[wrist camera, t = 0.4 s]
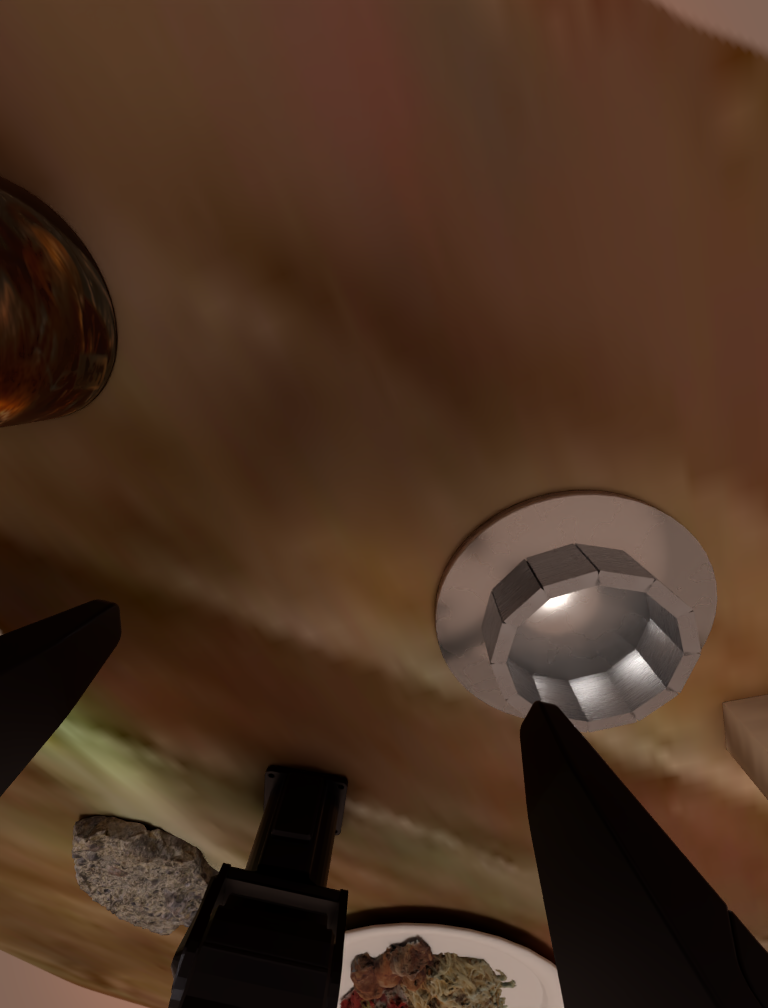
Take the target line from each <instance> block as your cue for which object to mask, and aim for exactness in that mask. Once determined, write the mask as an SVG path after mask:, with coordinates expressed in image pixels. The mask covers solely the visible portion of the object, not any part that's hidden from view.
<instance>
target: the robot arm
mask: <svg viewBox="0 0 768 1008" xmlns="http://www.w3.org/2000/svg"><path fill="white" fill-rule="evenodd" d="M120 637H121V620H120V608H119V606H118V605H117V604H116V603H114V602H109V601H105V600H99V599H97V600H93V601H90V602H87V603H85V604H82V605H80V606H77V607H74V608H72V609H69V610H66V611H64V612H61V613H59V614H56V615H53V616H51V617H48V618H45V619H43V620H40V621H38V622H35V623H32V624H30V625H27V626H24V627H22V628H19V629H17V630H14V631H11V632H9V633H6V634H3V635H1V636H0V797H1V795H2V794H3V793H4V792H5V791H6V789H7V788H8V787H9V786H10V785H11V783H12V782H13V781H14V780H15V779H16V777H17V776H18V775H19V774H20V773H21V771H22V770H23V769H24V768H25V767H26V765H27V764H28V763H29V762H30V761H31V759H32V758H33V757H34V756H35V755H36V753H37V752H38V751H39V750H40V748H41V747H42V746H43V745H44V744H45V742H46V741H47V740H48V739H49V738H50V736H51V735H52V734H53V733H54V732H55V730H56V729H57V728H58V727H59V726H60V724H61V723H62V722H63V721H64V719H65V718H66V717H67V716H68V714H69V713H70V712H71V710H72V709H73V708H74V706H75V705H76V703H77V702H78V701H79V699H80V698H81V696H82V695H83V693H84V692H85V690H86V689H87V688H88V686H89V685H90V683H91V682H92V680H93V679H94V677H95V676H96V675H97V673H98V672H99V670H100V669H101V667H102V666H103V664H104V663H105V662H106V660H107V659H108V657H109V656H110V654H111V653H112V651H113V650H114V649H115V647H116V646H117V644H118V642H119V640H120ZM520 742H521V752H522V762H523V773H524V783H525V793H526V804H527V812H528V819H529V825H530V831H531V837H532V842H533V847H534V852H535V858H536V863H537V868H538V873H539V879H540V884H541V889H542V894H543V899H544V905H545V910H546V915H547V920H548V926H549V931H550V936H551V941H552V947H553V952H554V957H555V962H556V968H557V973H558V978H559V983H560V989H561V994H562V999H563V1004H564V1008H768V952H767V951H766V950H765V949H764V948H763V947H762V945H761V944H760V943H759V942H758V941H757V940H756V938H755V937H754V936H753V935H752V934H751V933H750V931H749V930H748V929H747V928H746V927H745V925H744V924H743V923H742V922H741V921H740V920H739V918H738V917H737V916H736V915H735V914H734V913H733V912H732V911H731V910H728V907H727V905H726V903H725V902H724V901H723V900H722V899H721V897H720V896H719V895H718V894H717V893H716V892H715V890H714V889H713V888H712V887H711V886H710V885H709V883H708V882H707V881H706V880H705V879H704V877H703V876H702V875H701V874H700V873H699V872H698V870H697V869H696V868H695V867H694V866H693V865H692V863H691V862H690V861H689V860H688V859H687V857H686V856H685V855H684V854H683V853H682V852H681V850H680V849H679V848H678V847H677V846H676V845H675V843H674V842H673V841H672V840H671V839H670V837H669V836H668V835H667V834H666V833H665V832H664V830H663V829H662V828H661V827H660V826H659V825H658V823H657V822H656V821H655V820H654V819H653V817H652V816H651V815H650V814H649V813H648V812H647V810H646V809H645V808H644V807H643V806H642V805H641V803H640V802H639V801H638V800H637V799H636V797H635V796H634V795H633V794H632V793H631V792H630V790H629V789H628V788H627V787H626V786H625V785H624V783H623V782H622V781H621V780H620V779H619V777H618V776H617V775H616V774H615V773H614V772H613V770H612V769H611V768H610V767H609V766H608V765H607V763H606V762H605V761H604V760H603V759H602V757H601V756H600V755H599V754H598V753H597V752H596V750H595V749H594V748H593V747H592V746H591V745H590V743H589V742H588V741H587V740H586V739H585V737H584V736H583V735H582V734H581V733H580V732H579V730H578V729H577V728H576V727H575V726H574V725H573V723H572V722H571V721H570V720H569V719H568V717H567V716H566V715H565V714H564V713H563V712H562V710H561V709H560V708H559V707H558V706H557V705H555V704H553V703H549V702H545V701H540V700H537V701H535V702H534V703H533V704H532V706H531V708H530V710H529V712H528V713H527V715H526V717H525V719H524V721H523V723H522V725H521V729H520ZM347 786H348V781H347V779H345V778H342V777H336V776H330V775H324V774H318V773H312V772H306V771H300V770H293V769H287V768H281V767H275V766H270V767H268V768H267V771H266V773H265V790H264V814H263V817H262V820H261V823H260V826H259V829H258V832H257V835H256V838H255V841H254V844H253V847H252V850H251V853H250V856H249V859H248V862H247V865H246V869H240V868H236V867H231V864H226V863H223V865H222V867H221V869H220V871H219V874H218V875H215V876H212V877H211V879H210V881H209V884H208V886H207V889H206V891H205V894H204V896H203V899H202V901H201V904H200V906H199V908H198V911H197V913H196V915H195V917H194V919H193V920H192V922H191V924H190V926H189V928H188V930H187V932H186V934H185V936H184V938H183V940H182V942H181V943H180V945H179V947H178V949H177V951H176V953H175V956H174V958H173V961H172V964H171V970H172V974H173V978H174V982H173V985H172V990H171V993H172V995H171V998H170V1002H169V1007H168V1008H337V1005H338V998H339V991H340V983H341V974H342V964H343V952H344V939H345V926H346V914H347V901H348V890H343V889H340V891H339V890H335V889H330V888H326V886H327V880H328V873H329V867H330V861H331V855H332V849H333V843H334V837H335V835H339V834H340V833H341V826H342V819H343V813H344V806H345V799H346V793H347Z"/></svg>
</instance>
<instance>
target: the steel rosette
mask: <svg viewBox="0 0 768 1008" xmlns="http://www.w3.org/2000/svg"><path fill="white" fill-rule="evenodd" d="M716 605H717V588H716V580H715V576H714V572H713V568H712V565H711V563H710V561H709V559H708V557H707V554H706V552H705V551H704V549H703V548H702V547H701V545H700V544H699V542H698V541H697V539H696V538H695V537H694V536H693V535H692V534H691V533H690V532H689V531H688V530H687V529H686V528H685V527H684V526H682V525H681V524H680V523H678V522H677V521H676V520H674V519H673V518H672V517H670V516H669V515H667V514H665V513H663V512H662V511H660V510H658V509H656V508H654V507H653V506H651V505H649V504H647V503H645V502H643V501H640V500H637V499H635V498H632V497H629V496H626V495H622V494H617V493H612V492H607V491H595V490H573V491H563V492H557V493H550V494H546V495H543V496H539V497H535V498H532V499H529V500H526V501H524V502H521V503H519V504H516V505H514V506H512V507H510V508H508V509H506V510H504V511H502V512H501V513H499V514H497V515H495V516H494V517H492V518H491V519H490V520H488V521H487V522H485V523H484V524H483V525H481V526H480V527H479V528H478V529H477V530H476V531H474V532H473V533H472V534H471V535H470V536H469V537H468V538H467V539H466V540H465V541H464V543H463V544H462V545H461V546H460V547H459V548H458V550H457V551H456V552H455V554H454V555H453V557H452V559H451V560H450V562H449V563H448V565H447V567H446V569H445V571H444V574H443V576H442V578H441V581H440V584H439V588H438V591H437V597H436V604H435V622H436V632H437V637H438V643H439V646H440V649H441V652H442V655H443V658H444V659H445V661H446V663H447V665H448V667H449V669H450V670H451V672H452V673H453V674H454V676H455V677H456V678H457V680H458V681H459V682H460V683H461V684H462V685H463V686H464V687H465V688H466V689H467V690H468V691H469V692H471V693H472V694H473V695H474V696H476V697H477V698H478V699H480V700H482V701H483V702H485V703H487V704H488V705H490V706H492V707H494V708H496V709H498V710H501V711H503V712H505V713H508V714H511V715H515V716H518V717H522V718H525V717H526V715H527V713H528V712H529V710H530V708H531V706H532V704H533V703H534V702H535V701H537V700H540V701H545V702H549V703H553V704H555V705H557V706H558V707H559V708H560V709H561V710H562V712H563V713H564V714H565V715H566V716H567V717H568V719H569V720H570V721H571V722H572V723H573V725H574V726H575V727H576V728H577V729H578V730H579V731H580V732H587V731H589V732H593V731H598V730H603V729H607V728H612V727H616V726H621V725H626V724H630V723H635V722H637V721H636V719H637V720H638V721H640V720H641V719H643V718H644V717H646V716H647V715H649V714H650V713H652V712H653V711H655V710H656V709H658V708H659V707H661V706H662V705H664V704H665V703H667V702H668V701H670V700H671V699H673V698H674V697H675V696H677V695H678V693H677V692H681V690H682V689H683V687H684V685H685V683H686V681H687V679H688V677H689V675H690V674H691V672H692V670H693V668H694V666H695V664H696V662H697V660H698V659H699V657H700V655H701V654H700V652H701V649H702V647H703V646H704V644H705V642H706V640H707V637H708V635H709V633H710V631H711V628H712V625H713V621H714V617H715V614H716Z"/></svg>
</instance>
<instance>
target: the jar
mask: <svg viewBox="0 0 768 1008" xmlns="http://www.w3.org/2000/svg"><path fill="white" fill-rule="evenodd" d="M115 351H116V326H115V318H114V313H113V308H112V304H111V301H110V297H109V294H108V291H107V288H106V286H105V283H104V281H103V279H102V276H101V274H100V272H99V270H98V268H97V266H96V264H95V262H94V261H93V259H92V257H91V256H90V254H89V252H88V251H87V249H86V248H85V247H84V245H83V244H82V242H81V241H80V240H79V238H78V237H77V236H76V234H75V233H74V232H73V231H72V230H71V228H70V227H69V226H68V225H67V224H66V223H65V222H64V221H63V220H62V219H61V218H60V217H59V216H58V215H57V214H56V213H55V212H54V211H53V210H52V209H51V208H49V207H48V206H47V205H46V204H45V203H43V202H42V201H41V200H39V199H38V198H37V197H35V196H34V195H32V194H31V193H29V192H28V191H26V190H25V189H23V188H21V187H20V186H18V185H16V184H14V183H12V182H10V181H8V180H6V179H4V178H2V177H0V427H7V426H13V425H19V424H25V423H31V422H37V421H43V420H48V419H53V418H58V417H62V416H65V415H68V414H71V413H73V412H76V411H78V410H80V409H81V408H83V407H85V406H86V405H87V404H89V403H90V402H91V401H92V400H93V399H94V398H95V397H96V396H97V395H98V394H99V392H100V391H101V390H102V388H103V387H104V385H105V384H106V382H107V380H108V378H109V375H110V373H111V370H112V367H113V363H114V358H115Z"/></svg>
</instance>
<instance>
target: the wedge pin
mask: <svg viewBox="0 0 768 1008" xmlns="http://www.w3.org/2000/svg"><path fill="white" fill-rule="evenodd" d="M723 714H724V726H725V738H726V749H727V750H728V752H729V753H730V754H731V755H732V757H733V758H734V759H735V760H736V761H737V763H738V764H739V765H740V766H741V768H742V769H743V770H744V771H745V772H746V774H747V775H748V776H749V777H750V779H751V780H752V781H753V782H754V783H755V785H756V786H757V787H758V788H759V790H760V791H761V792H762V793H763V794H764V796H765V797H766V798H767V799H768V695H762V696H757V697H751V698H746V699H740V700H735V701H729V702H724V703H723Z"/></svg>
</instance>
